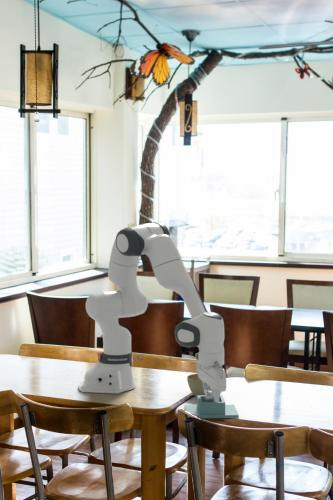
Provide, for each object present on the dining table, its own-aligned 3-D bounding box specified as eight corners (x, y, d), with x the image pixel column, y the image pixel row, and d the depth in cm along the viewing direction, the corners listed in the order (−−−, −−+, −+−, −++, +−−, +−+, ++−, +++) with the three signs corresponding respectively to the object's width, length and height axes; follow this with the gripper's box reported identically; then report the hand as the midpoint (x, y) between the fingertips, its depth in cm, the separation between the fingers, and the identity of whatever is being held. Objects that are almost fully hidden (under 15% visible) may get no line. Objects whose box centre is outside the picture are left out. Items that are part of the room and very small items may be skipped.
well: (186, 418, 245) (186, 404, 244) (184, 407, 257) (184, 394, 256) (238, 417, 246) (238, 403, 245) (234, 407, 258) (234, 393, 257)
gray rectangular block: (206, 412, 249) (206, 389, 248) (202, 408, 253) (202, 386, 252) (217, 411, 250) (217, 388, 249) (213, 407, 254) (213, 385, 253)
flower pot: (185, 391, 278) (185, 373, 277) (210, 391, 278) (211, 373, 278) (188, 399, 268) (188, 380, 267) (214, 398, 269) (214, 380, 268)
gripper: (231, 365, 239) (230, 405, 241) (210, 351, 259) (209, 389, 260) (213, 366, 238) (213, 406, 239) (193, 353, 257) (193, 390, 258)
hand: (211, 397), depth 250 cm, fingers open, 8 cm apart
